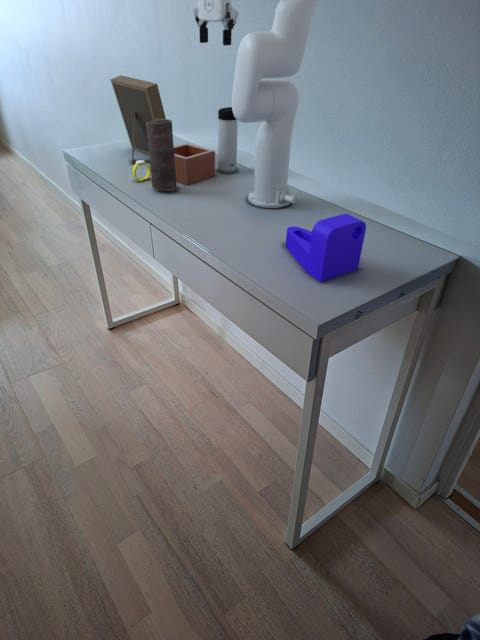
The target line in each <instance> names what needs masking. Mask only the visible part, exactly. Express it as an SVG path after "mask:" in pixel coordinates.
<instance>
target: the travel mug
mask: <svg viewBox="0 0 480 640" xmlns="http://www.w3.org/2000/svg"><path fill="white" fill-rule="evenodd" d="M217 116H218V117H217V170H218V172H219V173H221V174H225V175H228V174H229V175H230V174H234V173H236V172H237V165H238V163H237V162H238V122H239V121H238V120H237V119H236V118H235V116H234V114H233V111H232V106H229V107H228V106H227V107H222V108H219V109H218V110H217Z"/></svg>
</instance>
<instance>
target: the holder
mask: <svg viewBox="0 0 480 640" xmlns="http://www.w3.org/2000/svg"><path fill="white" fill-rule="evenodd" d="M174 158H175V170H176V182H177V183H181V184H183V185H186V186H188V185H192V184H195V183H197V182H201V181H203V180H206V179H209V178H212V177H215V176H216V150H213V149H210V148H206V147H202V146H199V145H195V144H192V143H187V142H186V143H182V144H178V145H175V146H174Z"/></svg>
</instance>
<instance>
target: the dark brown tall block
mask: <svg viewBox="0 0 480 640" xmlns="http://www.w3.org/2000/svg"><path fill="white" fill-rule="evenodd" d="M172 121H173V120H171V119H168V118H166V119H159V118H158V119H155V120H154V121H150V122H146V127H147V137H148V146H149V155H148V158H149V166H150V170H151V172H150V177H151V178H150V179H151V187H152V188H153V189H154V190H157V191H163V192H164V191H165V192H176V191H177V190H178V184H177V183H178V182H177V181H176V170H175V158H174V132H173V122H172Z"/></svg>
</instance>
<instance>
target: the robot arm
mask: <svg viewBox="0 0 480 640" xmlns="http://www.w3.org/2000/svg"><path fill="white" fill-rule="evenodd" d="M318 2H319V0H279V2H278V3H277V5H276V7H275V12H274V17H273V18H274V19H273V22H272V27H271V29H270V30H269V31H253V32H249V33H247V34H246V35H245V36H244V37H243V38H242V40H241V41H240V43H239V47H238V50H237V54H236V60H235V70H234V77H233V84H232V91H231V92H232V93H231V107H232V111H233V114H234V116H235V118H236V119H237V121H238V122H240V123H247V124H248V123H259V122H260V123H261V122H262V123H261V124H260V126H259V129H258V130H257V134H256V136H255V137H256V138H255V152H254V153H255V154H254V177H253V191H251V192H250V193H249V194H248V196H247V200H248V202H249V203H250V204H251V205H253V206H256V207H259V208H264V209H279V208H284V207H287V206H288V205H290V204H292V205H294V204H295V203H296V201H297V198H298V195H297V194H296V193H293V192H291V186H288V180H289V169H290V168H289V167H290V157H291V148H292V147H291V146H292V136H293V130H294V124H295V119H296V116H297V115H296V114H297V111H298V108H299V102H300V94H299V90H298V88H297V86H296V85H295V84H294V83H293V82H292V81H290V80H287V79H282V78H288V77H293V76H294V75H296V74H297V73H299V70H300V68H301V66H302V64H303V63H302V62H303V59H304V56H305V51H306V47H307V44H308V43H307V42H308V38H309V34H310V29H311V25H312V21H313V17H314V13H315V11H316V8H317V5H318ZM192 12H193V15H194V19H195V22H196V23H197V28H198V29H199V43H201V44H205V43H206V44H207V43H208V42H209V27H207V26H208V25H209V23H210V22H214V23H220V22H221V24H222V27H223V28H224V29H223V30H222V45H223V46H232V31H233V30H234V27H235V25H236V24H237V20H238V16H239V14H240V13H239V11H237V10H236V9H235V8H234V7H233V6H232V0H197V6H196V7H195V8H194V9H193V11H192ZM274 78H275V79H274ZM279 78H281V79H279Z"/></svg>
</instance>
